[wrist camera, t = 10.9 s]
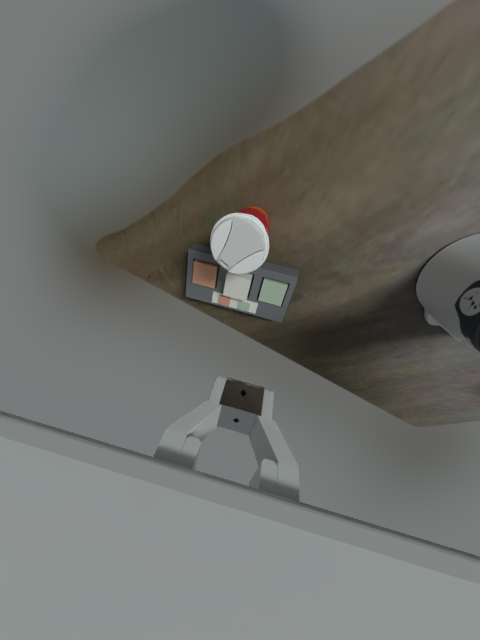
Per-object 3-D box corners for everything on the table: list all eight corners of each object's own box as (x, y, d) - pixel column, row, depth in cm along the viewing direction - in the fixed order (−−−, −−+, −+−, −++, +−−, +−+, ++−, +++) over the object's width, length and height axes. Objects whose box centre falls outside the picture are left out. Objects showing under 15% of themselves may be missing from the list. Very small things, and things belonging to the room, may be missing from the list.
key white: (253, 274, 42) (251, 280, 40) (248, 295, 44) (245, 301, 42) (229, 268, 42) (226, 273, 40) (226, 289, 45) (223, 295, 43)
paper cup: (254, 254, 43) (240, 288, 31) (222, 225, 41) (195, 249, 30) (285, 221, 39) (282, 246, 27) (252, 186, 37) (233, 198, 25)
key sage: (288, 280, 43) (287, 285, 41) (281, 300, 45) (280, 306, 43) (265, 274, 43) (263, 279, 41) (259, 294, 45) (257, 300, 43)
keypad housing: (298, 269, 43) (298, 278, 40) (282, 313, 49) (281, 324, 45) (195, 243, 44) (187, 249, 40) (191, 288, 50) (184, 297, 46)
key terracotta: (220, 262, 43) (217, 267, 41) (217, 283, 46) (214, 288, 44) (198, 256, 43) (193, 261, 41) (196, 277, 46) (192, 282, 44)
